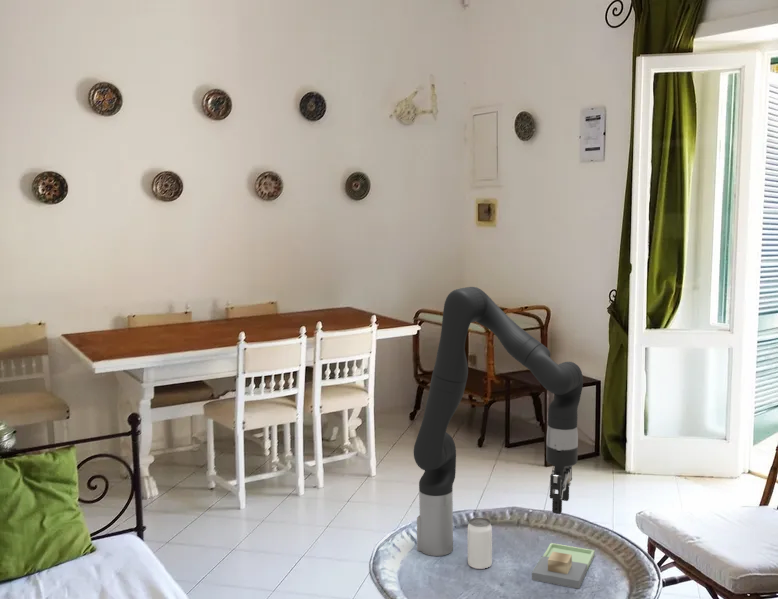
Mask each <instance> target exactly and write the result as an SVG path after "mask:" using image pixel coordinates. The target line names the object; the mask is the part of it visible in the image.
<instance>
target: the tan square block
mask: <svg viewBox="0 0 778 599" xmlns="http://www.w3.org/2000/svg"><path fill="white" fill-rule="evenodd" d="M571 566H572V555H570V554H564V553H558V552H552V554H551V555H550V557H549V559H548V571H553V572H558V573H563V574H568V572H569V570H570V568H571Z"/></svg>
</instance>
